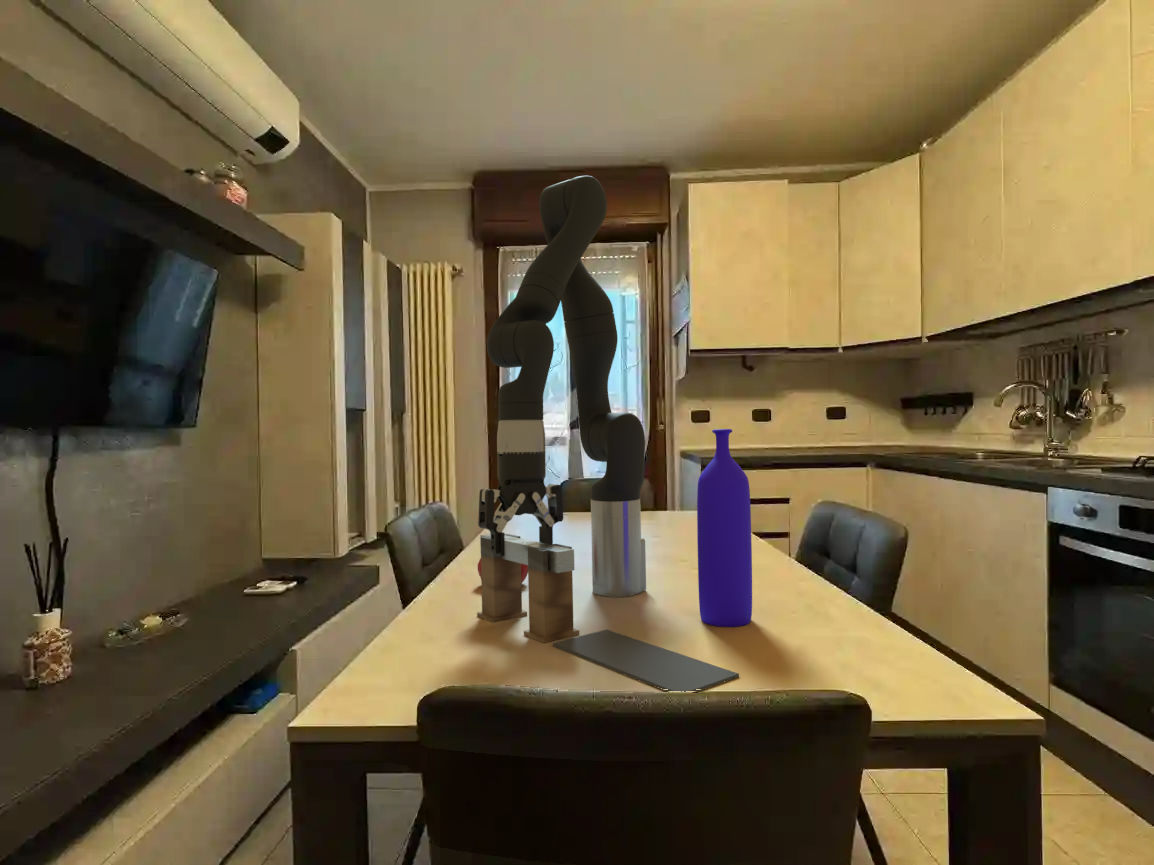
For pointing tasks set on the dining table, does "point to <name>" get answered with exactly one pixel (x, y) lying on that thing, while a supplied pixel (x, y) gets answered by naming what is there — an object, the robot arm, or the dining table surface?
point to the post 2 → (549, 599)
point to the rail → (518, 548)
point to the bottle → (724, 540)
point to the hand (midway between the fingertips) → (522, 553)
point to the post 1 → (499, 586)
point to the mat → (646, 661)
